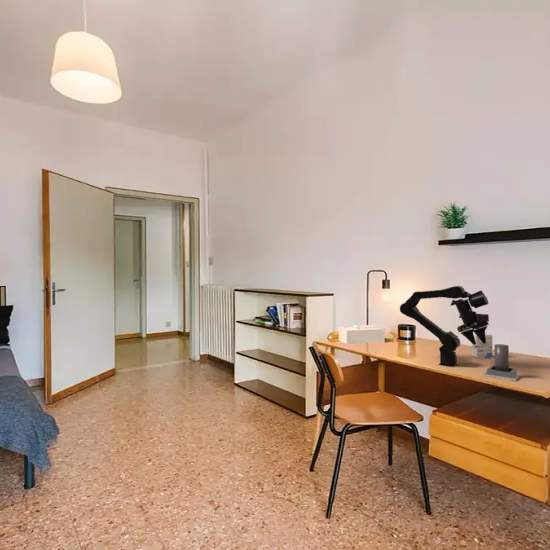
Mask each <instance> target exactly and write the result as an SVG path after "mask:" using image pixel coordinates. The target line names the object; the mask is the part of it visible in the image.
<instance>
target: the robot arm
mask: <svg viewBox="0 0 550 550" xmlns="http://www.w3.org/2000/svg"><path fill="white" fill-rule="evenodd" d="M435 298H437V299H439V298H446V299H452V300H451V303H450V307H451V306H455V307H456V310H457V312H458V314H459V316H458V319H461V321H462V323H463V324H461V325H458V326H457V328H456V330H457V332H458V333H460V334H461V335H462V336H463V337H464V338H466V339H467V340H468V341H469V342H470V343H471V345H472V344H473V345H476V341H475V338H474V335H473V334H476V335H477V337H478V338H479V339H480V340H481V341H482V343H483V344H485V343H486V337H485V334H486V329H488V326H489V325H490V324H489V321H490V317H489V315H490V314H487V313H477V311H473V309H472V308H474V309H478V308H481V307H484V306H487V305H489V299H488V297H487V296H486V295H485V293H484V292H483V290H478V291H476V292H474V293H470V292H468V291H466V290H465V288H464V287H463V286H460V285H455V286H452V287H446V288H443V289H435V290H424V291H422V290H421V291H420V290H419V291H414V292H413V293H412V295H411V296H410V297H409V298H408V299H407V300H406V301H405V302H404V303H402V304H400V305H399V312H400V313H401V314H403V315H404V316H406V317H408V318H411V319H413V320H415V321H416V322H417V323H418V324H420V325H421V326H422V327H424V328H425V329H426V330H427V331H429V332H430V333H431V334H432V335H434V336H435V337H436V338H437V339H438V340H439V342H440V343H441V346H440V347H438V350H439V364H438V365H440V366H446V367H452V368H453V367H455V366H456V365H457V366H458V355H457V353H456V350H457V349H458V348H459V347H460V345H461V340H460V338H459V336H458V335H456V334H455V333H454V332H453V331H451V330H450V331H448V332H447V331H445V330H443V329H442V328H441V327H439V326H438V325H437V324H436V323H435V322H433V320H430V319H429V318H428V317H427V316H425V315H424V313H423V314H422V313H421V311H420V309H419V308H418V307H417V306H418V304H419V303H420V302H421V300H424V299H425V300H426V299H435ZM466 298H467V299H466ZM463 299H464V300H463Z"/></svg>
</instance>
